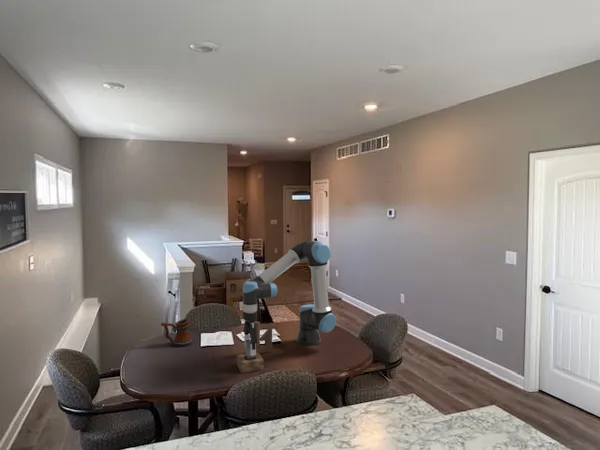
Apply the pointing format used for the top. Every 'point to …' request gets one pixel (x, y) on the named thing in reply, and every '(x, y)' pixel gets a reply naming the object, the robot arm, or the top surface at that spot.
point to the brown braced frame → (263, 339)
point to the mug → (179, 333)
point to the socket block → (250, 363)
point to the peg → (248, 351)
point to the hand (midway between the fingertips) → (250, 350)
